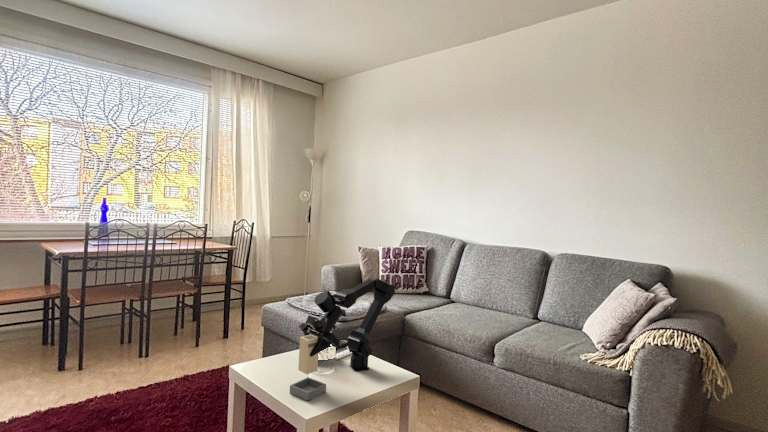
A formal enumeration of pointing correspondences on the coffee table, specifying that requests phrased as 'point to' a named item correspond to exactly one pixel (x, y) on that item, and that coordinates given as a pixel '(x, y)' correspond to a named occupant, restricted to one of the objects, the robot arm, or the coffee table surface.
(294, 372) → the coffee table surface
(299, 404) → the coffee table surface
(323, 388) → the tray
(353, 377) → the coffee table surface
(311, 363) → the kraft box
